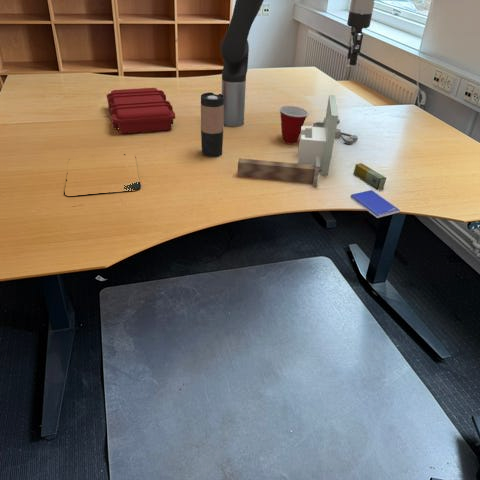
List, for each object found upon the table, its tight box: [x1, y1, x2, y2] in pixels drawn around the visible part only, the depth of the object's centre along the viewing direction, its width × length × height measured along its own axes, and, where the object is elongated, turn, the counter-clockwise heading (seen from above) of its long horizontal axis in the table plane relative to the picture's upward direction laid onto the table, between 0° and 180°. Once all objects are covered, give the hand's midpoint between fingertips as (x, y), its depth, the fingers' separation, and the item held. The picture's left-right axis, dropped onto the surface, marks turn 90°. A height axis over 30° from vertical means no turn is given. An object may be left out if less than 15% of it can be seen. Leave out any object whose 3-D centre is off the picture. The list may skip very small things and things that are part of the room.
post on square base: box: [236, 157, 320, 188], centre depth 139 cm, size 25×7×7 cm, turn 83°
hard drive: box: [350, 189, 401, 219], centre depth 130 cm, size 2×8×12 cm
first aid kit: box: [106, 87, 176, 134], centre depth 175 cm, size 32×23×9 cm
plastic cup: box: [278, 105, 310, 145], centre depth 162 cm, size 11×11×12 cm
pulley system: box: [312, 116, 359, 145], centre depth 174 cm, size 27×5×15 cm
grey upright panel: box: [297, 94, 339, 176], centre depth 146 cm, size 10×20×20 cm, turn 173°
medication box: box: [353, 162, 387, 191], centre depth 141 cm, size 12×3×4 cm, turn 28°
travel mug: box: [200, 91, 225, 158], centre depth 148 cm, size 8×8×20 cm
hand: (351, 61), depth 155 cm, fingers open, 8 cm apart
